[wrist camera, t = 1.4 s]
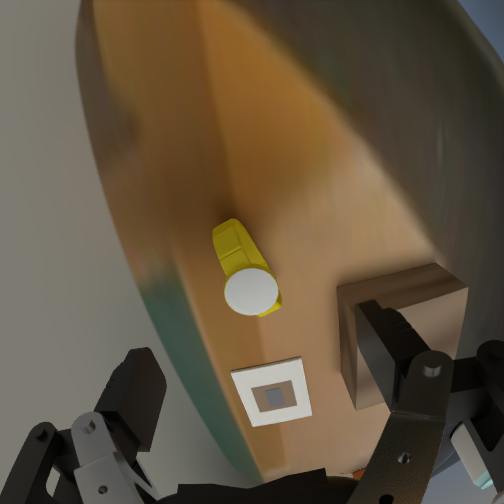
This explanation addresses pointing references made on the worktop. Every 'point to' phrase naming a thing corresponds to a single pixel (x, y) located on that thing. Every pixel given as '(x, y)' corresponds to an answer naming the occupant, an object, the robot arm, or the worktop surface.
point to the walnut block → (415, 312)
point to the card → (273, 391)
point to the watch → (245, 271)
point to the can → (470, 457)
